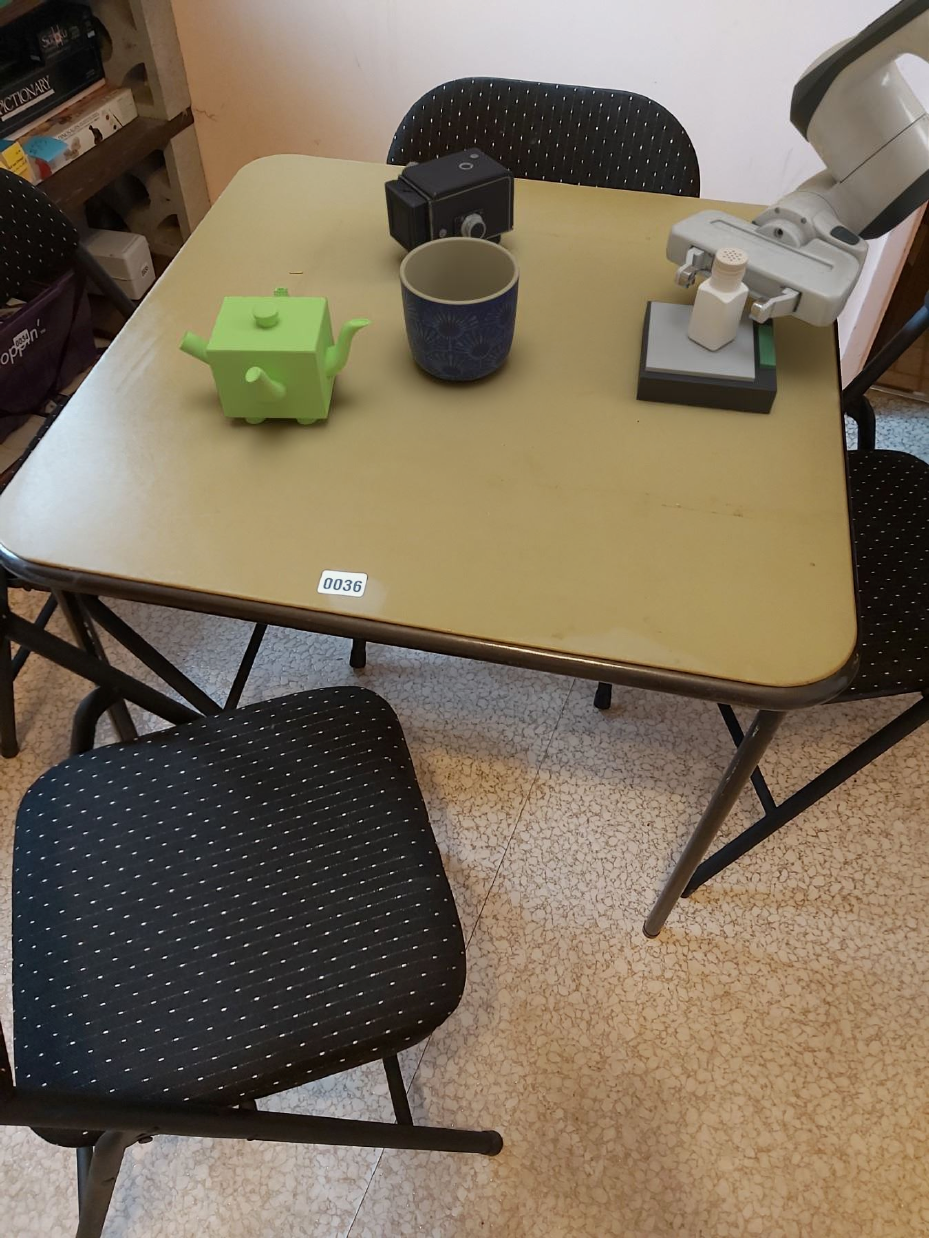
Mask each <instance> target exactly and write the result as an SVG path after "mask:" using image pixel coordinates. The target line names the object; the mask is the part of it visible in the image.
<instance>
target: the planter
mask: <svg viewBox="0 0 929 1238" xmlns="http://www.w3.org/2000/svg"><path fill="white" fill-rule="evenodd" d="M520 272H521V271H520V265H519V262H518V260H517V258H516V257H515V256H514V254H512V252H511V251H509V250H508V249H507V248H505V247H503V246H502V245H501V244H495V243H493V242H490V241H487V240H483V239H478V238H470V237H450V238H443V239H438V240H434V241H431V242H428V243H425V244H423V245H421V246H419V247H417V248H415V249H414V250H412V251H411V252H410V253H409V252H408V253H407V255H406V256H405V257H403V260H402V261H401V263H400V266H399V271H398V273H399V283H400V291H401V301H402V309H403V317H404V325H405V331H406V337H407V341H408V345H409V349H410V352H411V354H412V357H413V359H414V360H415V362H416V363H417V365H419V367H420V368H422V369H423V370H424V371H425V372H426V373H428V374H430V375H432V376H434V377H436V378H439V379H442V380H447V381H453V382H468V381H473V380H474V381H475V380H478V379H482V378H484V377H486V376H489V375H490V374H493V373H494V372H495V371H497V370H498V369H500V367H501V366H502V365H503V364H504V363H505V361H506V359H507V358H508V356H509V354H510V352H511V349H512V348H511V347H512V344H513V340H514V334H515V327H516V320H517V319H516V318H517V307H518V296H519V286H520V285H519V283H520V274H521V273H520Z"/></svg>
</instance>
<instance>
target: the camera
mask: <svg viewBox="0 0 929 1238" xmlns="http://www.w3.org/2000/svg"><path fill="white" fill-rule="evenodd" d="M383 186H384V194H385V200H386V201H385V203H386V212H387V213H386V214H387V220H388V221H387V222H388V230H389V236H390V237H391V238H393V240H394V241H396V242H397V243H398V245H400V246H401V247H402V248H403V249H404V250H405V251H406V252H408V254H409V253H410V252H411V251H412V250H414V249H415V248H417V247H419V246H421V245H423V244H425V243H428V242H431V241H434V240H438V239H443V238H450V237H470V238H478V239H483V240H487V241H490V242H493V243H495V244H498V245H500V243H501V240H502V235H503V234H506V233H509V232H512V231H514V224H515V221H514V219H515V218H514V216H515V215H514V212H515V211H514V210H515V176H514V174H513V172H512V171H511V170H510V169H508V168H507V167H505V166H504V165H502V164H500V163H499V162H498V161H496V160H494V159H493V158H491V157H490V156H488V155H487V154H485V153H484V152H483V151H481V149H480V148H479V147H470V148H467V149H464V150H461V151H458V152H455V153H451V154H448V155H445V156H442V157H438V158H434V159H431V160H427V161H424V162H421V163H418V162H417V161H416V162H415V161H411V162H408V163H407V164H406V165H405V167H404V168H403V169H402V170H401V174H399V173H398V174H397V179H391V180H388V181H385V182H384V185H383Z"/></svg>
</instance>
